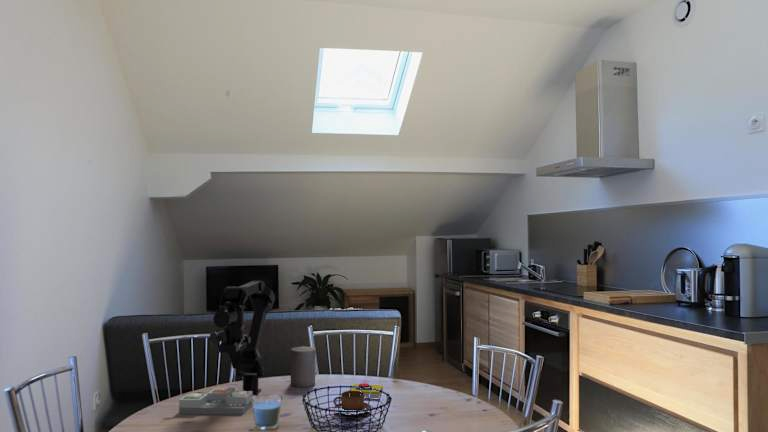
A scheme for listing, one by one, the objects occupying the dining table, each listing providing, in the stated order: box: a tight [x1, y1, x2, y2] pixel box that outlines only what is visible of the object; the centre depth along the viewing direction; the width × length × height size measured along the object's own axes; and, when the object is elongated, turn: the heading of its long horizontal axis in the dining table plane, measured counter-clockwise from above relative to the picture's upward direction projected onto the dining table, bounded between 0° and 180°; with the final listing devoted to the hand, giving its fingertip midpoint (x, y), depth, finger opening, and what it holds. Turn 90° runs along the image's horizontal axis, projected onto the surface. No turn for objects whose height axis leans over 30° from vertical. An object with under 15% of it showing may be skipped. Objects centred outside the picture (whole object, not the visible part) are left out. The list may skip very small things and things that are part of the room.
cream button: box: [232, 390, 247, 396], centre depth 186 cm, size 5×5×2 cm
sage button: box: [186, 392, 203, 399], centre depth 183 cm, size 5×5×2 cm
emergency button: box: [348, 382, 390, 398], centre depth 200 cm, size 9×4×15 cm
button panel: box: [178, 387, 257, 416], centre depth 186 cm, size 15×21×4 cm
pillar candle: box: [289, 346, 316, 388], centre depth 216 cm, size 10×10×15 cm
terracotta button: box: [213, 386, 230, 393], centre depth 190 cm, size 5×5×2 cm
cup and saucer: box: [333, 390, 372, 415], centre depth 181 cm, size 12×12×6 cm
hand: (234, 368), depth 191 cm, fingers closed
